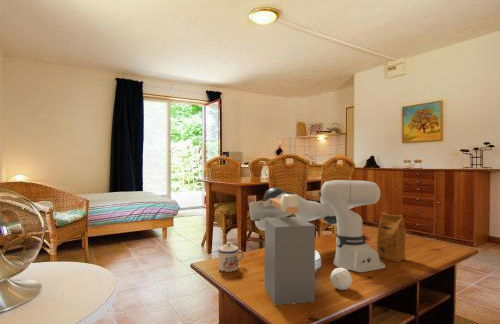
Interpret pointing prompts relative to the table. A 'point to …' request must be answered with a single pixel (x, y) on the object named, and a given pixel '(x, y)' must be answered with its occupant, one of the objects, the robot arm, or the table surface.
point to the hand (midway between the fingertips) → (276, 200)
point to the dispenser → (290, 260)
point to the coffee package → (391, 237)
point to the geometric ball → (341, 278)
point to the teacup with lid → (229, 257)
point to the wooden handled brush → (287, 203)
